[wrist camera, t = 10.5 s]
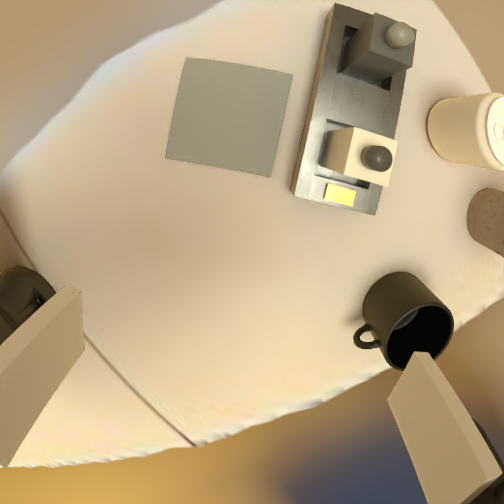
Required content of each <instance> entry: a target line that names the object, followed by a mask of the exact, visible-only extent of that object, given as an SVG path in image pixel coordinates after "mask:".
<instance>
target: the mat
mask: <svg viewBox="0 0 504 504" xmlns="http://www.w3.org/2000/svg"><path fill="white" fill-rule="evenodd" d="M292 76H293V75H291V74H287V73H283V72H278V71H273V70H268V69H263V68H258V67H252V66H247V65H241V64H235V63H228V62H221V61H214V60H206V59H197V58H187V57H186V60H185V64H184V68H183V72H182V76H181V81H180V85H179V90H178V94H177V99H176V104H175V108H174V113H173V118H172V124H171V129H170V134H169V140H168V145H167V151H166V157H165V158H167V159H174V160H180V161H186V162H192V163H198V164H204V165H210V166H215V167H221V168H226V169H231V170H236V171H242V172H247V173H252V174H256V175H261V176H266V177H271V172H272V168H273V163H274V158H275V154H276V149H277V145H278V140H279V135H280V131H281V126H282V122H283V117H284V112H285V108H286V103H287V99H288V94H289V89H290V85H291V80H292Z"/></svg>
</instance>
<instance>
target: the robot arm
mask: <svg viewBox="0 0 504 504" xmlns="http://www.w3.org/2000/svg"><path fill="white" fill-rule="evenodd" d="M84 350H85V344H84V334H83V322H82V307H81V291H79V290H75V289H72V288H68V287H65V286H64V287H63V288H62V289H61V290H60V291H58V292H57V293H55V291H54V290H53V289H52V287H51V286H50V285H49V284H48V283H47V282H46V281H45V280H44V279H43V278H42V277H41V276H40V275H38V274H37V273H36V272H34V271H32V270H30V269H28V268H25V267H12V268H10V269H8V270H7V271H5V272H4V273H2V274H1V275H0V465H2V466H3V467H5V468H7V467H8V465H9V463H10V462H11V460H12V458H13V456H14V455H15V453H16V451H17V450H18V448H19V447H20V445H21V443H22V442H23V440H24V438H25V437H26V435H27V434H28V432H29V430H30V429H31V427H32V426H33V424H34V423H35V421H36V419H37V418H38V416H39V415H40V413H41V412H42V410H43V409H44V407H45V406H46V404H47V403H48V401H49V400H50V398H51V397H52V395H53V394H54V392H55V391H56V389H57V388H58V386H59V385H60V383H61V382H62V381H63V379H64V378H65V376H66V375H67V373H68V372H69V370H70V369H71V368H72V366H73V365H74V363H75V362H76V361H77V359H78V358H79V356H80V355H81V354H82V352H83V351H84ZM387 401H388V403H389V406H390V408H391V411H392V413H393V415H394V418H395V420H396V422H397V425H398V427H399V430H400V432H401V434H402V437H403V439H404V442H405V445H406V447H407V450H408V452H409V455H410V457H411V459H412V462H413V465H414V467H415V470H416V473H417V475H418V478H419V481H420V483H421V486H422V489H423V492H424V494H425V497H426V500H427V503H428V504H504V464H503V463H502V461H501V459H500V457H499V456H498V454H497V452H496V450H495V449H494V447H493V446H491V444H492V443H491V442H490V440H489V439H488V438H487V435H486V433H485V432H484V430H483V428H482V427H481V426H480V425H479V424H478V423H477V422H476V421H475V420H474V419H473V418H471V417H470V415H469V414H468V412H467V411H466V409H465V407H464V406H463V404H462V403H461V401H460V400H459V398H458V396H457V395H456V393H455V392H454V390H453V389H452V387H451V385H450V384H449V383H448V381H447V379H446V378H445V376H444V375H443V373H442V372H441V370H440V369H439V368H438V366H437V365H436V363H435V362H434V360H433V359H432V357H431V356H430V354H429V353H428V352H415V351H414V353H413V355H412V357H411V358H410V360H409V362H408V364H407V366H406V368H405V370H404V372H403V373H402V375H401V377H400V379H399V381H398V383H397V384H396V386H395V388H394V389H393V391H392V393H391V394H390V396H389V398H388V399H387Z"/></svg>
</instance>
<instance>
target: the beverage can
mask: <svg viewBox="0 0 504 504" xmlns="http://www.w3.org/2000/svg"><path fill="white" fill-rule="evenodd" d="M428 134H429V138H430V141H431V143H432V145H433V147H434V149H435V150H436V151H437V153H438V154H439V155H440V156H442V157H443V158H444V159H446V160H448V161H452V162H458V163H463V164H469V165H474V166H479V167H484V168H489V169H494V170H498V171H504V95H503V94H500V93H487V94H478V95H470V96H463V97H456V98H450V99H444V100H441V101H439V102H438V103H436V104H435V105H434V106H433V108H432V110H431V111H430V114H429V117H428Z"/></svg>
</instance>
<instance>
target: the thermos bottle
mask: <svg viewBox="0 0 504 504" xmlns="http://www.w3.org/2000/svg"><path fill="white" fill-rule="evenodd" d="M467 226H468V230H469V233H470V235H471V236H472V238H473V239H474V240H475V241H477V242H479V243H480V244H482V245H484V246H486V247H487V248H489V249H491V250H492V251H494V252H496V253H498V254H499V255H501V256H503V257H504V192H501V191H497V190H494V189H489V188H487V189H483V190H481V191H480V192H478V193H477V194H476V195H475V197H474V198H473V199H472V201H471V203H470V206H469V209H468V213H467Z"/></svg>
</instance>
